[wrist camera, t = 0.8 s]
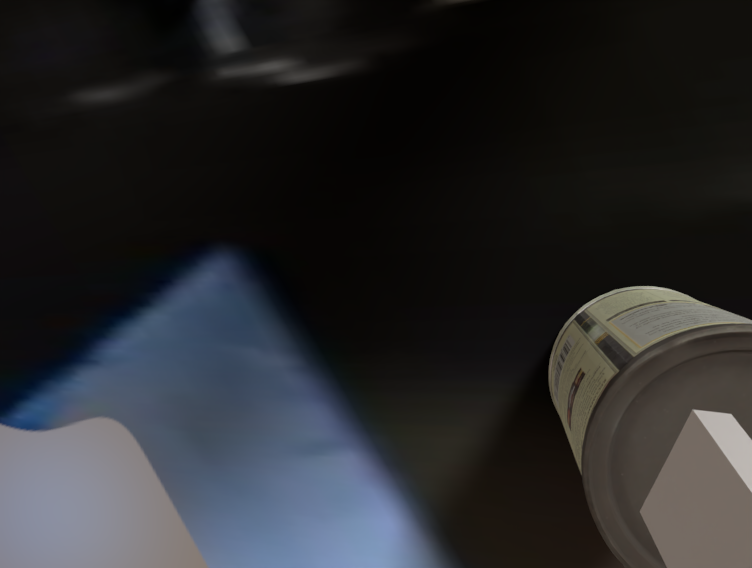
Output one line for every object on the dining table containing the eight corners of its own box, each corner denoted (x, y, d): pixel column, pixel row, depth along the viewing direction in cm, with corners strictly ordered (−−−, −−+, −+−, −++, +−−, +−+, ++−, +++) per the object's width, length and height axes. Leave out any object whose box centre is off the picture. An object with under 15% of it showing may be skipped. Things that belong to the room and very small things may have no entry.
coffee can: (760, 444, 34) (948, 600, 20) (570, 476, 36) (620, 637, 22) (719, 263, 33) (881, 293, 19) (528, 306, 35) (552, 362, 21)
